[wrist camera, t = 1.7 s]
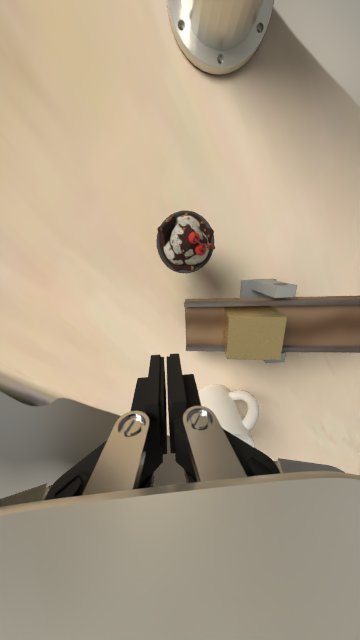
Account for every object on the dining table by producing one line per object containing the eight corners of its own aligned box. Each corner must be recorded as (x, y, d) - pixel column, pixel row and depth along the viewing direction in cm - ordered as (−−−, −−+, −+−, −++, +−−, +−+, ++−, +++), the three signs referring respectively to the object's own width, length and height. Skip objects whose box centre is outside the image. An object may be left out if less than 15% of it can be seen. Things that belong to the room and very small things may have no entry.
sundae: (203, 260, 32) (235, 264, 18) (166, 273, 32) (168, 286, 18) (192, 219, 29) (219, 185, 15) (153, 233, 30) (143, 211, 15)
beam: (186, 295, 33) (184, 303, 27) (360, 291, 30) (398, 300, 24) (187, 336, 35) (185, 352, 30) (347, 337, 32) (379, 354, 27)
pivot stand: (241, 279, 33) (265, 286, 25) (273, 277, 34) (307, 284, 26) (237, 341, 37) (257, 364, 29) (265, 339, 38) (293, 361, 30)
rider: (223, 307, 28) (228, 317, 23) (271, 306, 27) (287, 317, 23) (222, 342, 30) (226, 358, 25) (267, 342, 29) (280, 359, 25)
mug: (252, 390, 42) (284, 440, 31) (209, 418, 43) (225, 475, 32) (233, 366, 39) (261, 411, 28) (188, 397, 41) (198, 450, 30)
